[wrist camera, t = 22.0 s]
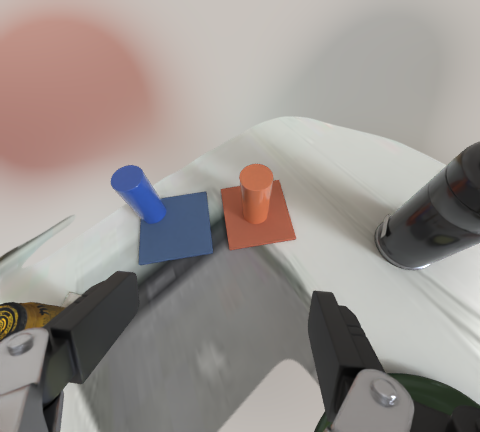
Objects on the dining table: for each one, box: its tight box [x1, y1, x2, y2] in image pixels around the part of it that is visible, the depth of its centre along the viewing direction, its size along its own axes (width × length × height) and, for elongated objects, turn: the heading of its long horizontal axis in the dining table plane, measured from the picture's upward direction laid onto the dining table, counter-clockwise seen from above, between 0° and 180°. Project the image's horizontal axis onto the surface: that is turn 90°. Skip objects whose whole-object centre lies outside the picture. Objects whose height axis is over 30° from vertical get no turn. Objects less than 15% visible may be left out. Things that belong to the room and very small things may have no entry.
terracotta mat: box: [221, 180, 296, 250], centre depth 45 cm, size 12×13×1 cm
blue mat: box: [139, 192, 213, 265], centre depth 44 cm, size 13×13×1 cm
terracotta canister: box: [239, 164, 273, 224], centre depth 40 cm, size 5×5×11 cm
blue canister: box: [111, 165, 166, 224], centre depth 41 cm, size 5×5×11 cm
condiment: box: [0, 292, 82, 342], centre depth 32 cm, size 7×8×12 cm
